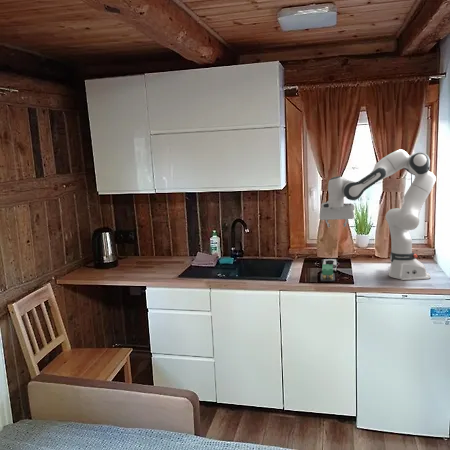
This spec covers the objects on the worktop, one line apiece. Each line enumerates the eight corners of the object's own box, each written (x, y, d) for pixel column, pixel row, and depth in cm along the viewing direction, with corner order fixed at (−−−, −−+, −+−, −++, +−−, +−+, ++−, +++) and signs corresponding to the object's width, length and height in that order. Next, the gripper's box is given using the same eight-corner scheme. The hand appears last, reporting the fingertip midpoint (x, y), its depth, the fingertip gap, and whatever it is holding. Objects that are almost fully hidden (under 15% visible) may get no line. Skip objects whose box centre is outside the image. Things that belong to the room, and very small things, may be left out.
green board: (332, 268, 279) (332, 264, 278) (333, 274, 265) (333, 270, 265) (322, 268, 280) (322, 264, 280) (322, 274, 267) (322, 270, 266)
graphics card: (336, 258, 306) (336, 268, 282) (337, 263, 307) (336, 273, 283) (321, 258, 309) (319, 268, 285) (321, 263, 309) (319, 273, 286)
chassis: (334, 274, 279) (334, 266, 278) (334, 281, 266) (334, 272, 265) (320, 274, 281) (320, 266, 280) (320, 281, 268) (320, 272, 267)
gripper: (353, 202, 276) (354, 225, 279) (319, 203, 281) (319, 226, 283) (354, 203, 270) (354, 227, 273) (318, 205, 275) (319, 228, 277)
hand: (336, 226), depth 278 cm, fingers open, 8 cm apart
